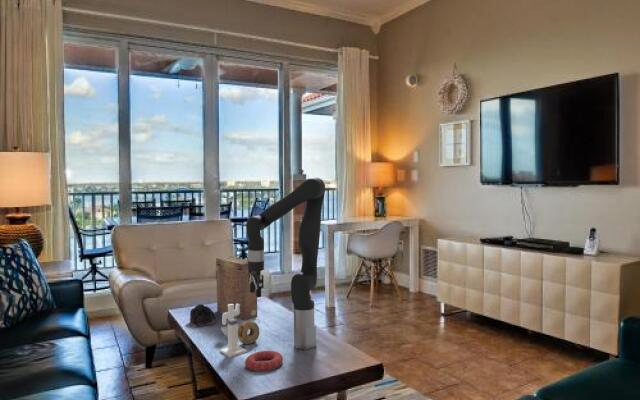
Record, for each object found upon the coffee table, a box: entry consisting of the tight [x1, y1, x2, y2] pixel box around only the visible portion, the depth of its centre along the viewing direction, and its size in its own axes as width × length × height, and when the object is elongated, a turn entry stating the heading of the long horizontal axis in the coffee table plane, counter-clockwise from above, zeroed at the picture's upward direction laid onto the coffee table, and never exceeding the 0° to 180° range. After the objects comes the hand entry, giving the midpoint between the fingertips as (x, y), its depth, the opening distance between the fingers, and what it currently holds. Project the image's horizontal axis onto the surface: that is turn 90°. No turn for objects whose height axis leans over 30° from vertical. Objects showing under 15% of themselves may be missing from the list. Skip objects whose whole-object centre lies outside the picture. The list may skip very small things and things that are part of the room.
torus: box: [244, 350, 284, 372], centre depth 189 cm, size 16×14×4 cm
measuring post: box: [219, 318, 247, 358], centre depth 202 cm, size 8×8×14 cm
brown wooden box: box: [215, 255, 258, 321], centre depth 258 cm, size 25×9×30 cm, turn 45°
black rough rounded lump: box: [189, 303, 217, 328], centre depth 242 cm, size 14×14×10 cm
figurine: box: [220, 304, 240, 337], centre depth 223 cm, size 7×9×15 cm
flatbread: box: [238, 320, 260, 345], centre depth 212 cm, size 10×4×10 cm, turn 129°
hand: (255, 294), depth 213 cm, fingers open, 8 cm apart
